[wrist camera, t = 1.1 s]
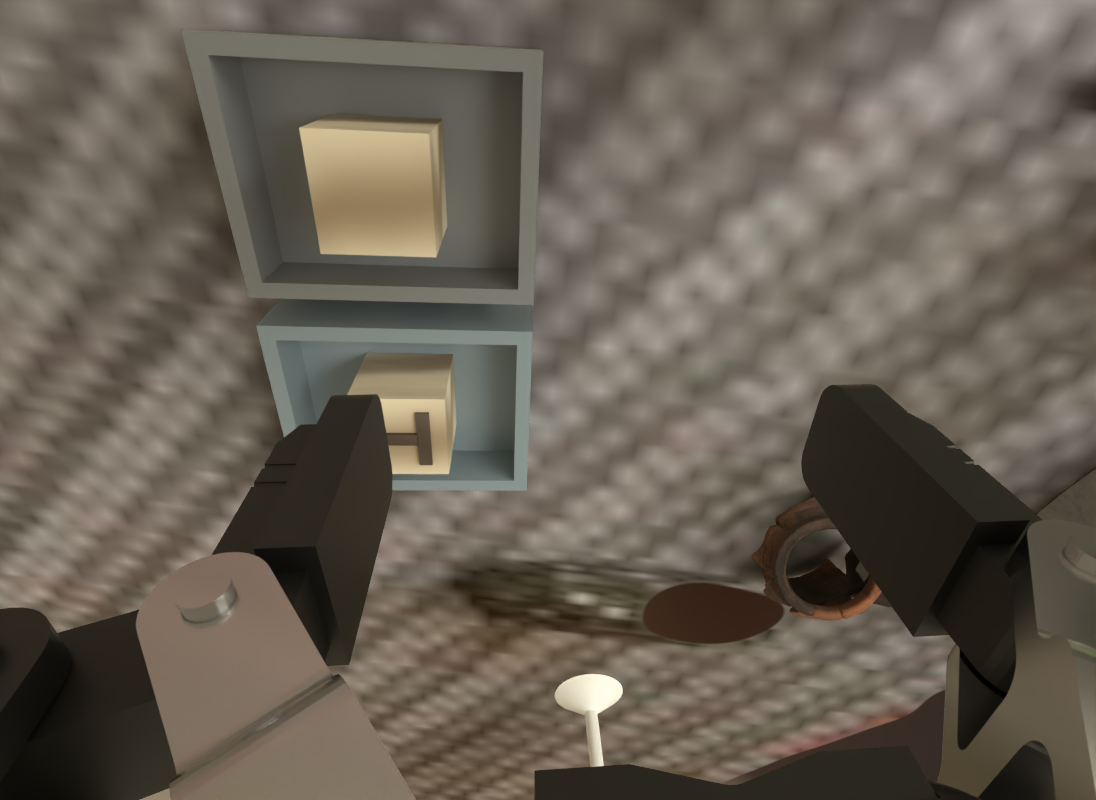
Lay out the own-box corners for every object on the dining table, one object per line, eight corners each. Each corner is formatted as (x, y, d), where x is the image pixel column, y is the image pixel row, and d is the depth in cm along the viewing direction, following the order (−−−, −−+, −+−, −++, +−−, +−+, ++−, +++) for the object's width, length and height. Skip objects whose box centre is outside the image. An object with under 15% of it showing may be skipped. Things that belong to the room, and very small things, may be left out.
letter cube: (366, 352, 33) (344, 400, 28) (453, 353, 33) (444, 401, 29) (376, 422, 35) (357, 476, 31) (456, 423, 36) (448, 476, 31)
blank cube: (333, 113, 26) (299, 128, 22) (442, 118, 26) (429, 133, 22) (348, 222, 29) (320, 253, 24) (447, 226, 29) (436, 257, 25)
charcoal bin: (221, 30, 25) (180, 29, 22) (539, 49, 26) (543, 50, 23) (274, 272, 30) (248, 297, 27) (531, 279, 31) (533, 305, 28)
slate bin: (280, 298, 31) (255, 325, 28) (530, 304, 32) (532, 331, 29) (314, 453, 37) (297, 489, 34) (525, 454, 38) (526, 490, 35)
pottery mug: (724, 574, 47) (748, 618, 39) (753, 466, 46) (784, 487, 38) (870, 613, 46) (927, 667, 38) (902, 503, 45) (968, 533, 37)
